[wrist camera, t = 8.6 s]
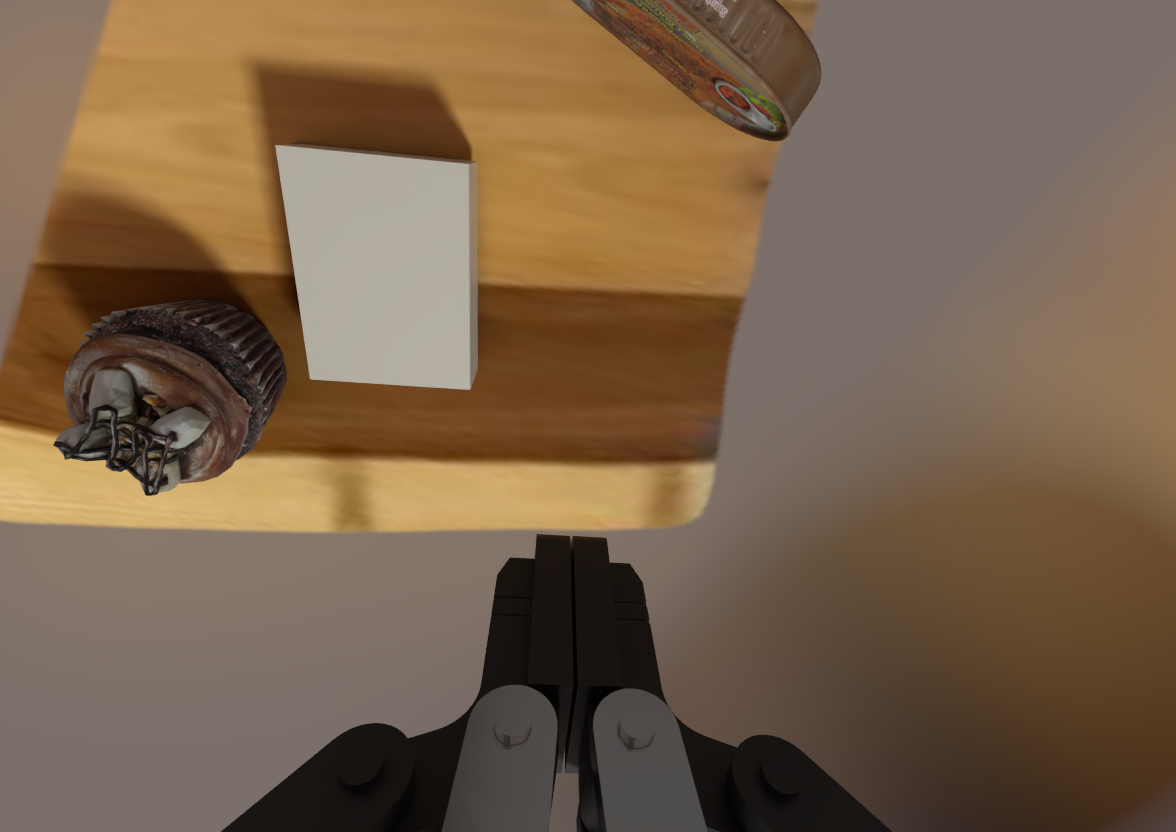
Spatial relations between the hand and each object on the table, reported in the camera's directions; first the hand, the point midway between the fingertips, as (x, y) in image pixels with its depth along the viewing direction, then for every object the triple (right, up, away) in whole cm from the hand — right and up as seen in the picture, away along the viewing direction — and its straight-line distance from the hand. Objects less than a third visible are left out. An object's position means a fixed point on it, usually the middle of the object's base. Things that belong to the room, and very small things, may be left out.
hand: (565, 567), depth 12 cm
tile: (-6, +11, +19) cm, 22 cm away
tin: (+4, +23, +16) cm, 28 cm away
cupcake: (-23, +7, +23) cm, 33 cm away
